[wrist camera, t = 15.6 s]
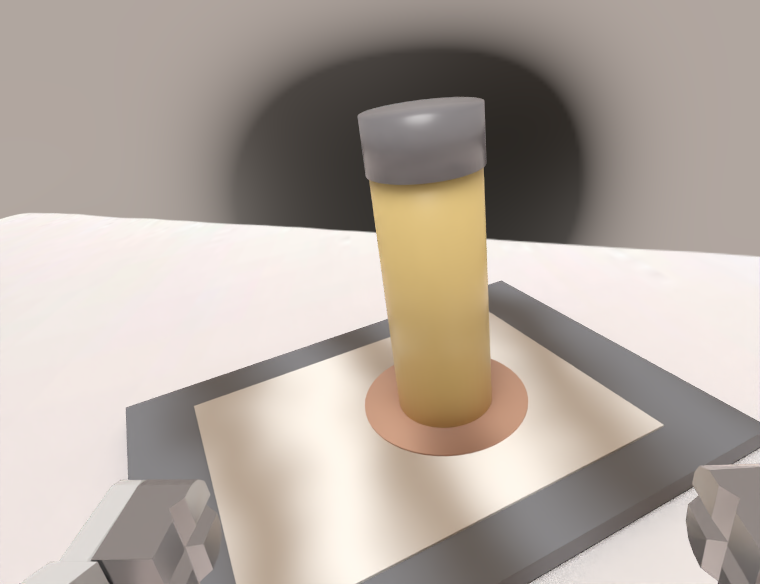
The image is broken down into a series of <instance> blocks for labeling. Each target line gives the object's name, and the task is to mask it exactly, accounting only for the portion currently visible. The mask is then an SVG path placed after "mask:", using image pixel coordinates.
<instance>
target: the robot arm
mask: <svg viewBox="0 0 760 584" xmlns="http://www.w3.org/2000/svg"><path fill="white" fill-rule="evenodd" d="M692 485H693V486H694V488H695V490H696V492H697V493H698V495H699V496H697V497H696V498H695V499H694V500H693V501H692V502H690V503H689V504H688V509H687V516H686V524H687V532H688V538H689V541H690V544H691V547H692V550H693V553H694V555H695V557H696V559H697V561H698V563H699V565H700V567H701V568H702V569H703V570H704V571H705V572H707V573H708V574H709V575H711V576H712V577H713V578H715V579H716V580H717V581H718V584H760V463H759V464H731V465H704V466H699V467H698V468H697V469H696V471H695V472H694V477H693V482H692ZM209 497H210V493H209V490H208V488H207V485H206V483H205V481H202V480H198V479H147V480H120V481H118V482H117V483H115V484H114V485H112V486H111V487H110V489H109V490H108V492H107V493H106V495H105V496H104V497H103V499H102V500H101V502H100V503H99V505H98V506H97V507H96V509H95V510H94V512H93V513H92V515H91V516H90V517H89V519H88V520H87V522H86V523H85V525H84V526H83V527H82V529H81V530H80V532H79V533H78V535H77V536H76V537H75V539H74V540H73V542H72V543H71V545H70V546H69V547H68V549H67V550H66V552H65V553H64V555H63V556H62V557H61V559H60V560H59V562H49V563H48V564H46V565H45V566H44V567H42V568H41V569H39V570H38V571H36V572H35V573H34V574H32V575H31V576H29V577H28V578H27V579H25V580H24V581H22V582H21V583H19V584H200V581H201V580H202V579H203V578H204V577H205V576H206V575H208V574H209V573H210V572H211V571H212V570H213V568H214V566H215V563H216V560H217V558H218V555H219V551H220V544H221V537H222V534H221V524H220V520H219V517H218V514H217V512H215V511H214V510H213V509H212V508H210V507H209V506H208V505H206V503H207V501H208V499H209Z"/></svg>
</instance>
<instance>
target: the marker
mask: <svg viewBox="0 0 760 584" xmlns="http://www.w3.org/2000/svg"><path fill="white" fill-rule="evenodd" d="M484 112H485V110H484V100H483V99H480V98H473V97H450V98H449V97H448V98H435V99H425V100H417V101H410V102H403V103H397V104H392V105H387V106H382V107H378V108H374V109H371V110H368V111H365V112H362V113H361V114H359V115H358V122H359V130H360V137H361V144H362V151H363V159H364V166H365V173H366V177H367V178H368V179H369V182H370V189H371V197H372V204H373V211H374V219H375V226H376V234H377V241H378V248H379V256H380V263H381V271H382V278H383V285H384V293H385V300H386V308H387V315H388V322H389V330H390V337H391V345H392V352H393V359H394V367H395V374H396V382H397V389H398V396H399V403H400V407H401V409H402V411H403V412H404V413H405V414H406V415H407V416H408V417H409V418H410V419H412V420H413V421H415V422H417V423H419V424H422V425H425V426H430V427H437V428H450V427H457V426H462V425H465V424H468V423H471V422H473V421H475V420H477V419H478V418H480V417H481V416H482V415H483V414H484V413H485V412H486V411H487V410H488V408H489V407H490V405H491V402H492V383H491V356H490V329H489V302H488V275H487V248H486V221H485V195H484V171H483V170H484V166H485V165H486V140H485V139H486V138H485V113H484Z"/></svg>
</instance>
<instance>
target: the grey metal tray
mask: <svg viewBox="0 0 760 584" xmlns="http://www.w3.org/2000/svg"><path fill="white" fill-rule="evenodd" d="M488 302H489V329H490V356H491V383H492V402H491V405H490V407H489V408H488V410H487V411H486V412H485V413H484V414H483V415H482V416H481V417H480V418H478V419H477V420H475V421H473V422H471V423H468V424H465V425H462V426H457V427H450V428H437V427H430V426H425V425H422V424H419V423H417V422H415V421H413V420H412V419H410V418H409V417H408V416H407V415H406V414H405V413H404V412H403V411H402V409H401V407H400V403H399V396H398V389H397V382H396V374H395V367H394V359H393V352H392V345H391V337H390V330H389V322H388V319H386V320H383V321H380V322H378V323H375V324H372V325H369V326H366V327H363V328H360V329H357V330H354V331H351V332H348V333H345V334H342V335H339V336H336V337H333V338H330V339H327V340H324V341H321V342H318V343H316V344H313V345H310V346H307V347H304V348H301V349H298V350H295V351H292V352H289V353H286V354H283V355H280V356H277V357H274V358H271V359H268V360H265V361H262V362H259V363H256V364H253V365H251V366H248V367H245V368H242V369H239V370H236V371H233V372H230V373H227V374H224V375H221V376H218V377H215V378H212V379H209V380H206V381H203V382H200V383H197V384H194V385H191V386H189V387H186V388H183V389H180V390H177V391H174V392H171V393H168V394H165V395H162V396H159V397H156V398H153V399H150V400H147V401H144V402H141V403H138V404H135V405H132V406H129V407H126V428H127V456H128V480H147V479H198V480H202V481H205V483H206V485H207V488H208V490H209V493H210V497H209V499H208V501H207V503H206V505H208V506H209V507H210V508H212V509H213V510H214V511H215V512H217V514H218V517H219V520H220V524H221V534H222V537H221V544H220V551H219V555H218V558H217V560H216V563H215V566H214V568H213V570H212V571H211V572H210V573H209V574H208V575H206V576H205V577H204V578H203V579H202V580H201V581H200V584H527V583H529V582H531V581H533V580H534V579H536V578H538V577H539V576H541V575H543V574H545V573H546V572H548V571H550V570H551V569H553V568H555V567H556V566H558V565H560V564H562V563H563V562H565V561H567V560H568V559H570V558H572V557H574V556H575V555H577V554H579V553H580V552H582V551H584V550H586V549H587V548H589V547H591V546H592V545H594V544H596V543H597V542H599V541H601V540H603V539H604V538H606V537H608V536H609V535H611V534H613V533H615V532H616V531H618V530H620V529H621V528H623V527H625V526H627V525H628V524H630V523H632V522H633V521H635V520H637V519H638V518H640V517H642V516H644V515H645V514H647V513H649V512H650V511H652V510H654V509H656V508H657V507H659V506H661V505H662V504H664V503H666V502H668V501H669V500H671V499H673V498H674V497H676V496H678V495H679V494H681V493H683V492H685V491H686V490H688V489H690V488H691V487H693V485H692V482H693V477H694V472H695V471H696V469H697V468H698V467H699V466H704V465H731V464H732V463H734V462H736V461H738V460H739V459H741V458H743V457H744V456H746V455H748V454H750V453H751V452H753V451H755V450H756V449H758V448H760V422H759V421H757V420H755V419H753V418H751V417H750V416H748V415H746V414H744V413H742V412H740V411H739V410H737V409H735V408H733V407H731V406H730V405H728V404H726V403H724V402H722V401H720V400H719V399H717V398H715V397H713V396H711V395H709V394H708V393H706V392H704V391H702V390H700V389H698V388H697V387H695V386H693V385H691V384H689V383H687V382H686V381H684V380H682V379H680V378H678V377H677V376H675V375H673V374H671V373H669V372H667V371H666V370H664V369H662V368H660V367H658V366H656V365H655V364H653V363H651V362H649V361H647V360H645V359H644V358H642V357H640V356H638V355H636V354H635V353H633V352H631V351H629V350H627V349H625V348H624V347H622V346H620V345H618V344H616V343H614V342H613V341H611V340H609V339H607V338H605V337H603V336H602V335H600V334H598V333H596V332H594V331H592V330H591V329H589V328H587V327H585V326H583V325H582V324H580V323H578V322H576V321H574V320H572V319H571V318H569V317H567V316H565V315H563V314H561V313H560V312H558V311H556V310H554V309H552V308H550V307H549V306H547V305H545V304H543V303H541V302H540V301H538V300H536V299H534V298H532V297H530V296H529V295H527V294H525V293H523V292H521V291H519V290H518V289H516V288H514V287H512V286H510V285H508V284H507V283H505V282H503V281H499V282H496V283H493V284H490V285H488Z"/></svg>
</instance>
